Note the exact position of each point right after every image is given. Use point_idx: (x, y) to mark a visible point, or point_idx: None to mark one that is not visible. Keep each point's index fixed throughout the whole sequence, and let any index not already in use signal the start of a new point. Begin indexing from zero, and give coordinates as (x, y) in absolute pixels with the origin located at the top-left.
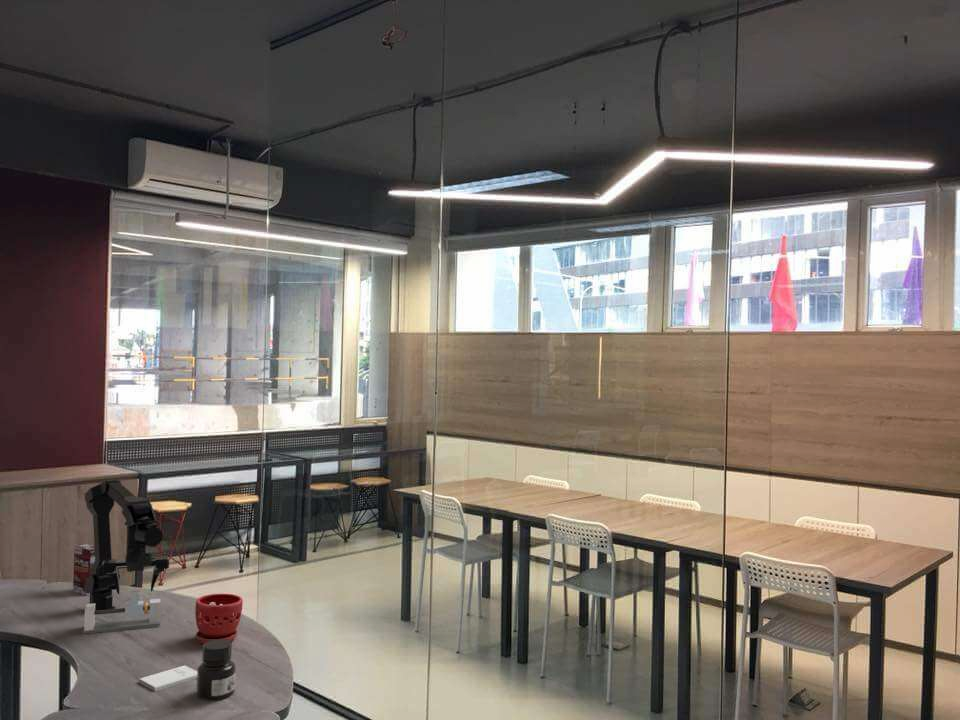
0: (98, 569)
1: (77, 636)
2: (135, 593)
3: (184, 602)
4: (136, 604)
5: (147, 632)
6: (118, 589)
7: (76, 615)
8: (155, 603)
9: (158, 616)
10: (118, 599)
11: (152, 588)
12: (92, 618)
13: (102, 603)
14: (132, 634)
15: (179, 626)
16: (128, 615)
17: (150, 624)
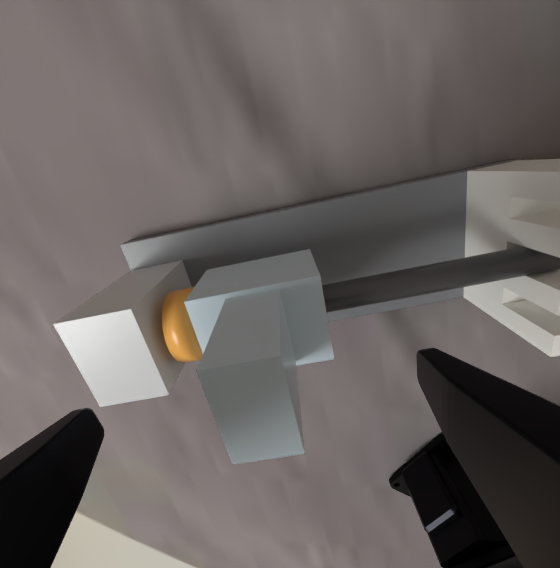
0: None
1: (537, 124)
2: (232, 351)
3: (148, 512)
4: (236, 298)
5: (161, 148)
6: (462, 378)
7: None
8: (93, 314)
9: (123, 279)
10: (389, 549)
11: (42, 432)
12: (529, 168)
13: (453, 482)
14: (236, 120)
15: (26, 234)
16: (289, 256)
17: (167, 235)
